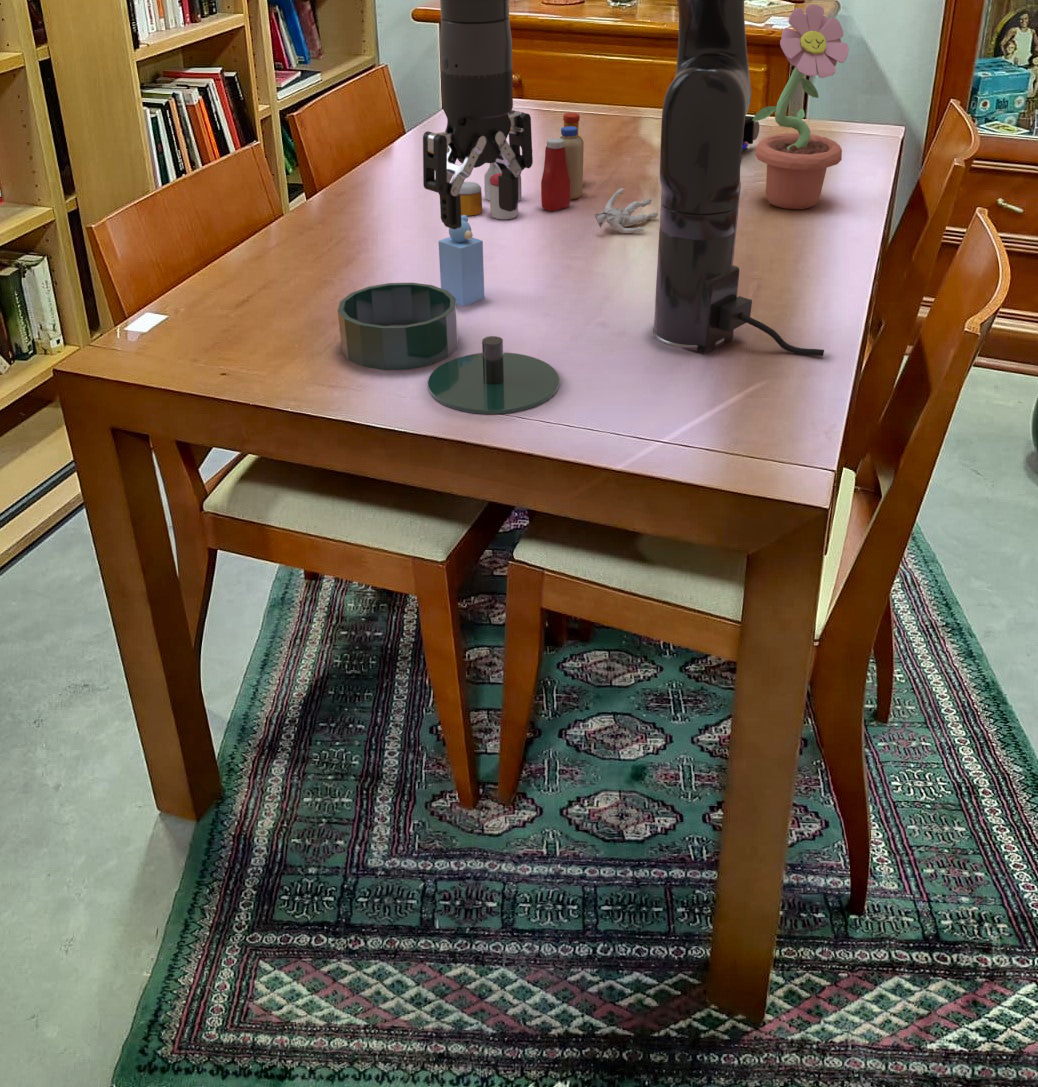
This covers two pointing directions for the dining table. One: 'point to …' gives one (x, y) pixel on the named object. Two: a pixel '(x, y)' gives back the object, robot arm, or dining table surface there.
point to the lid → (493, 381)
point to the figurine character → (750, 132)
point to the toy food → (557, 179)
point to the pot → (398, 345)
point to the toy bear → (462, 264)
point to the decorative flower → (802, 113)
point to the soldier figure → (624, 215)
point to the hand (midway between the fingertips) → (480, 218)
